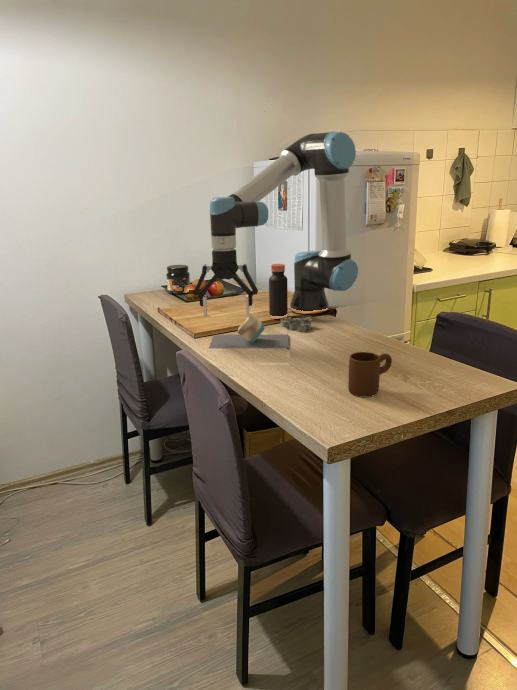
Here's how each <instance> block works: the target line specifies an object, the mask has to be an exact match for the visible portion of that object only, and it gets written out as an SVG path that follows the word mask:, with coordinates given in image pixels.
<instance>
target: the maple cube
mask: <svg viewBox="0 0 517 690" xmlns="http://www.w3.org/2000/svg"><path fill="white" fill-rule="evenodd" d="M264 331H265V323H263V322H262V321H261V320H259V319H258V318H257V317H255V316H254V315H253V314H251V313H249V317H247V316H246V318H245V319H244V320H243V321H242V323H241V324H240V325H239V326H238V329H237V333H238V335H241V336H243V337H244V338H245V339H246V340H248V341H249V342H250V343H252V344H253V343H254V341H255V340H256V339H257V338H258V336H259V335H262V333H263V332H264Z"/></svg>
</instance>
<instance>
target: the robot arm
mask: <svg viewBox="0 0 517 690" xmlns="http://www.w3.org/2000/svg"><path fill="white" fill-rule="evenodd" d="M356 153H357V151H356V146H355V142H354V141H353V139H352V138H351V137H350V136H349V134H347V133H346V132H342V131H330V132H329V131H328V132H320V133H319V132H317V133H309V134H306V135H304V136H303V137H301V138H298V140H296V141H294V142H292V143H291V144H290V145H289V146H287V147H286V148H285V149H284V150H282V151H281V152H280V154H279V157H278V158H277V159H275V160H274V161H273V162H271V163H270V164H269V165H267V166H266V167H265V168H263V169H262V170H261V171H260V172H258V173H257V174H256V175H254V176H253V177H252V178H251V179H249V180H248V181H247V182H246V183H244V184H243V185H241V186H240V187H239V188H237V189H235V191H234V192H233V193H231V194H230V195H228V196H218V197H217V196H215V197H212V198H211V199H210V202H209V216H210V217H209V220H210V235H211V236H210V239H211V248H212V249H213V250H212V251H211V259H212V262H211V263H212V264H211V265H207V264H203V266H202V267H201V269H202V270H201V271H202V272H201V275H200V277H199V279H198V281H197V283H196V286H195V288H194V290H193V295H195V296H198V297H199V306H200V307H203V308H202V309H203V318H207V316H208V302H207V301H208V300H207V294H206V293H207V291H208V290H209V289H210V287H211V286H212V285H213V284H214V283H215V281H216V280H217V279H218V280H231V279H233V281H235V282H236V284H237V285H238V286H239V287H240V288H241V289H242V290H243V291H244V293H245V294H246V295H245V307H246V309H245V310H246V311H245V312H246V314H245V315H246V318H247V317H249V314H250V307H251V306H253V305H254V302H253V300H254V299H253V296H254V295H257V294H258V292H259V289H258V288H257V286H256V284H255V282H254V280H253V278H252V276H251V274H250V273H249V270H248V265H247V264H246V263H244V264H239V265H238V260H237V259H238V258H237V249H236V248H237V231H236V230H237V229H240V228H241V229H242V228H252V227H253V228H255V227H256V228H257V227H259V226H264V225H266V224H267V222H268V220H269V216H270V215H269V209H268V208H269V207H268V206H267V204H266V203H265V202H263V201H262V199H264V198H265V197H266V196H268V195H269V194H271V193H272V192H273V191H274V190H276V189H277V188H278V187H279V186H281V185H282V184H283V183H285V182H287V180H288V179H290V178H291V177H292V176H293V177H295V176H296V177H297V176H298V175H300V174H301V173H303V172H305V171H308V170H314V177H316V178H317V180H318V181H319V199H320V200H319V204H320V205H319V206H320V225H321V226H320V227H321V228H320V229H321V248H322V249H321V250H310V251H309V250H308V251H302V252H297V253H296V254H295V255H294V263H293V266H294V267H293V268H294V270H293V271H294V274H293V275H294V277H293V278H294V279H293V280H294V291H293V294H292V298H291V301H290V304H289V308H290V307H291V308H293V309H296V310H301V311H302V310H303V311H313V310H322V309H326V308H328V307H329V306H330V305H329V301H328V298H327V295H326V292H325V289H328V290H332V291H337V292H338V291H339V292H345V291H348V290H349V289H350V288H352V287H353V285H354V283H356V280H357V278H358V274H359V267H358V264H357V263H356V261H354V260H353V259H352V254H351V253H352V251H350V250H349V249H348V247H347V227H346V226H347V225H346V223H347V221H346V186H345V185H346V184H345V181H346V180H345V179H346V177H347V176H348V174H349V173H350V171H349V168H350V167H352V166H353V165H354V161H355V160H356V156H357V155H356ZM239 270H240V272H241V273H243V275H244V277H245V279H246V281H247V283H248V285H249V286H250V288H249V286H248V285H246V283H245V282H244V281H243V280H242V278H240V276H239V275H238V274H237V272H238V271H239ZM210 271H211V272H212V273H213V276H212V277H211V279H209V281H208V282H207V283H206V285H205V286H204V287H203V289H202V290H201V287H202V285H203V282H204V280H205V278H206V275H207V273H209V272H210Z"/></svg>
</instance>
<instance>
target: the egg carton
mask: <svg viewBox="0 0 517 690" xmlns="http://www.w3.org/2000/svg"><path fill="white" fill-rule="evenodd" d="M279 321H280V326H281V328H285V327H286V329H288V330H289V331H297V333H298V332H299V333H300V332H306V330H312V321H313V317H311V316H310V317H309V316H306V317H305V318H304V317H300V318H299V317H294V318H292V317H291V316H288V317H285V318H282V319H280V320H279Z"/></svg>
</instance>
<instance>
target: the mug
mask: <svg viewBox="0 0 517 690" xmlns="http://www.w3.org/2000/svg"><path fill="white" fill-rule="evenodd" d="M348 360H349V361H348V382H347V384H348V385H347V387H348V388H347V389H348V391H349V393H350V394H351V395H353V396H355V395H357V396H356V397H359V396H371V397H373V396H372V395H374V396H375V394H376V395H377V394H378V393H379V391H380V377H381V375H383V374H384V373H386V372H387V371H389V370H390V368H391V367H392V361H393V360H392V356H391V355H390V354H388V353H381V354H380V355H378V354H376V353H373V352H368V351H360V352H353V353H352V354H350V355H349V359H348ZM383 361H385V362H384V364H383V365H382V366H381V363H382V362H383Z"/></svg>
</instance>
